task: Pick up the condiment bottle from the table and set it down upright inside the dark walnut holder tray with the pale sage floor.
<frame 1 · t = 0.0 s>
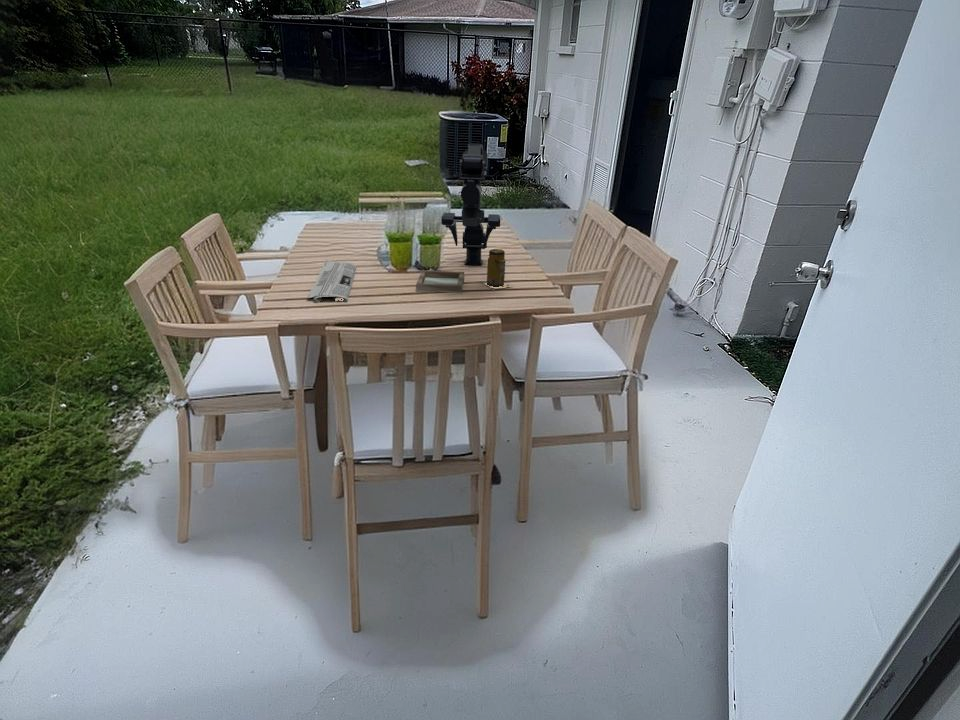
hand: (470, 246, 185), 15 cm above the table, tool pointing down, fingers open, 9 cm apart
newspaper: (333, 285, 193), on the table
condiment: (496, 285, 196), on the table
holder tray: (440, 285, 194), on the table
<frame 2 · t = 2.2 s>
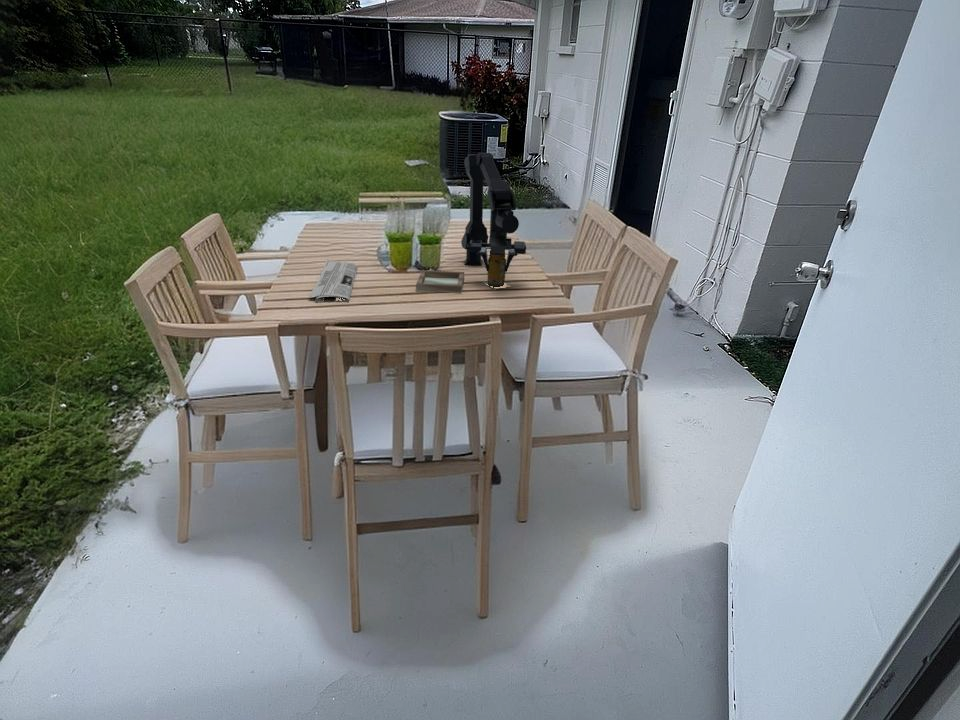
hand: (496, 271, 194), 5 cm above the table, tool pointing down, fingers closed on condiment, 6 cm apart
condiment: (496, 285, 196), on the table, touching gripper
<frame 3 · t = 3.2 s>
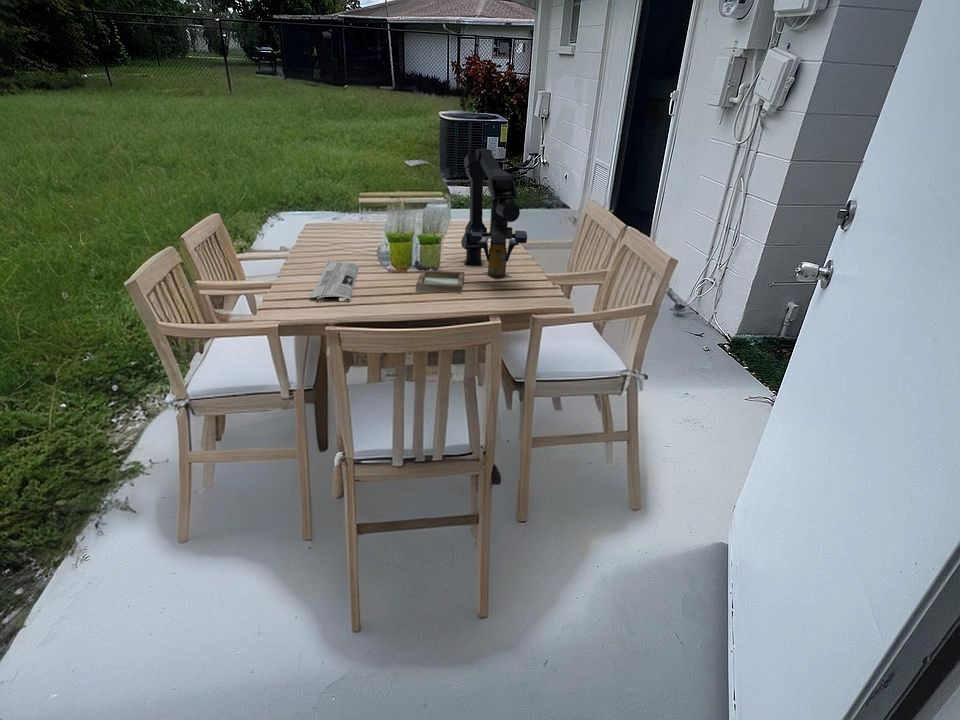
hand: (497, 261, 192), 9 cm above the table, tool pointing down, fingers closed on condiment, 6 cm apart
condiment: (497, 276, 194), point 3 cm above the table, touching gripper
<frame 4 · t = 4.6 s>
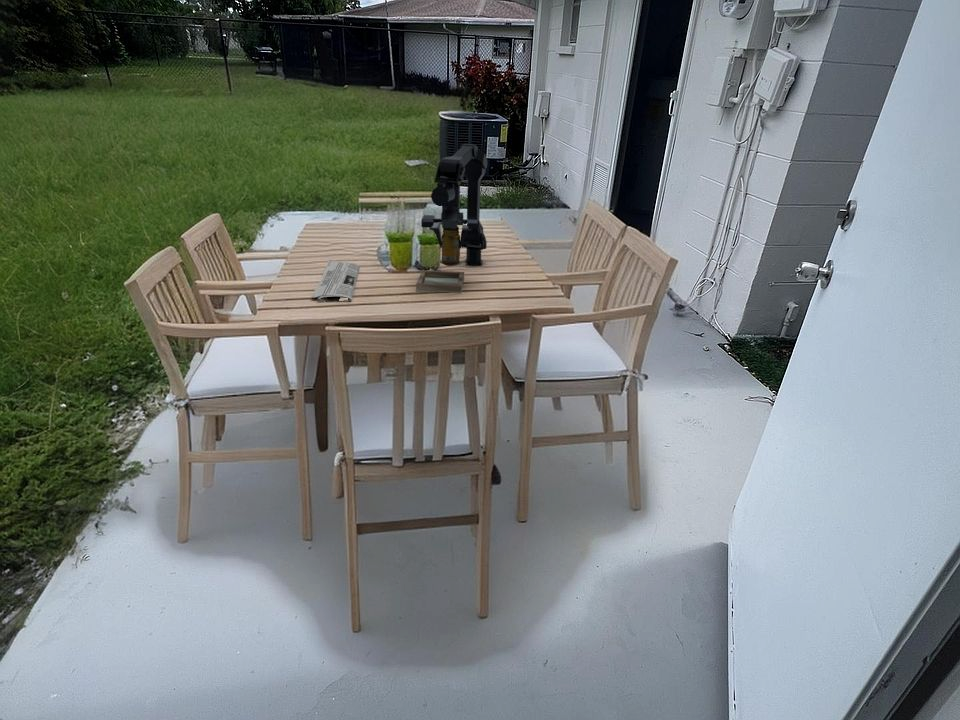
hand: (450, 247, 189), 13 cm above the table, tool pointing down, fingers closed on condiment, 6 cm apart
condiment: (451, 263, 191), point 8 cm above the table, touching gripper
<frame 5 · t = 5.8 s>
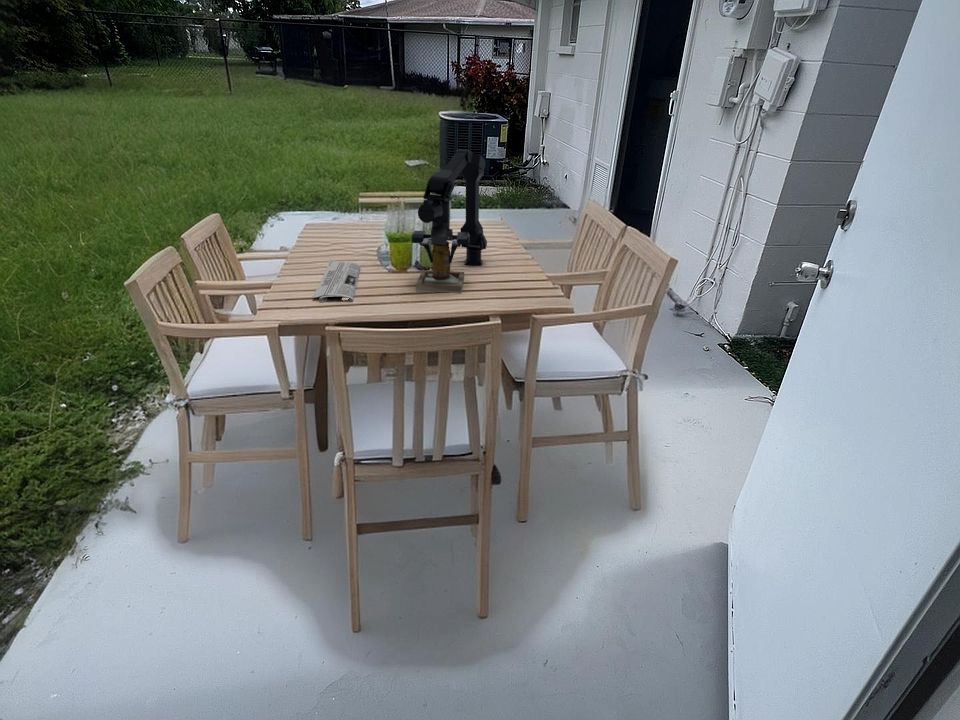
hand: (441, 262, 191), 8 cm above the table, tool pointing down, fingers closed on condiment, 6 cm apart
condiment: (442, 277, 193), point 3 cm above the table, touching gripper
when the fingers open (7 cm above the table, at t = 6.9 s): condiment drops 1 cm, resting on holder tray.
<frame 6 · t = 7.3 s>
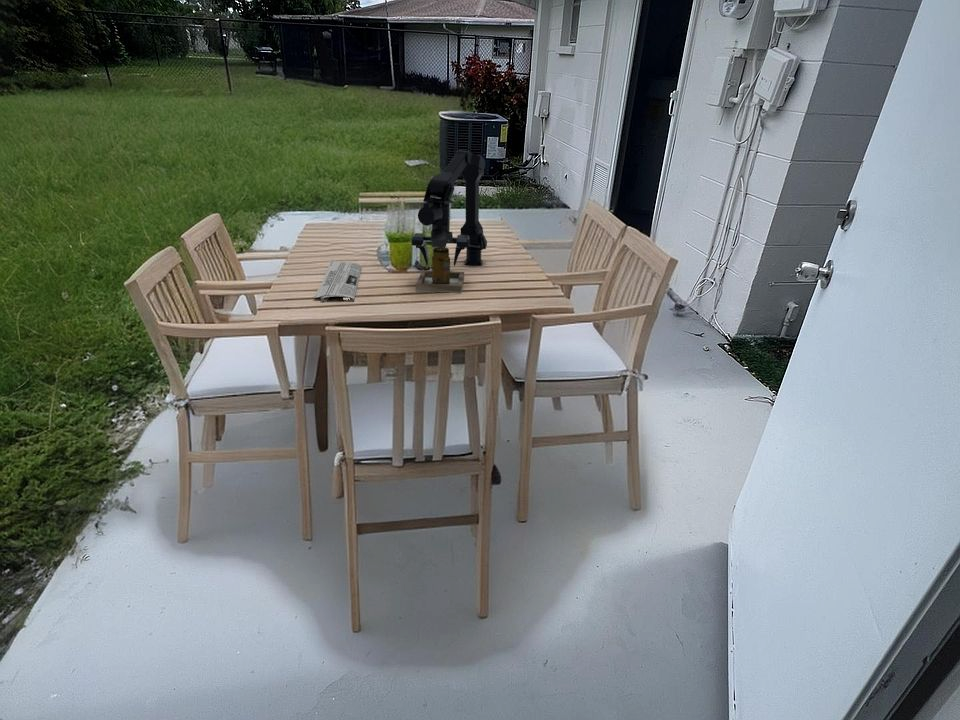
hand: (440, 265, 191), 7 cm above the table, tool pointing down, fingers open, 9 cm apart
condiment: (441, 284, 194), resting on holder tray
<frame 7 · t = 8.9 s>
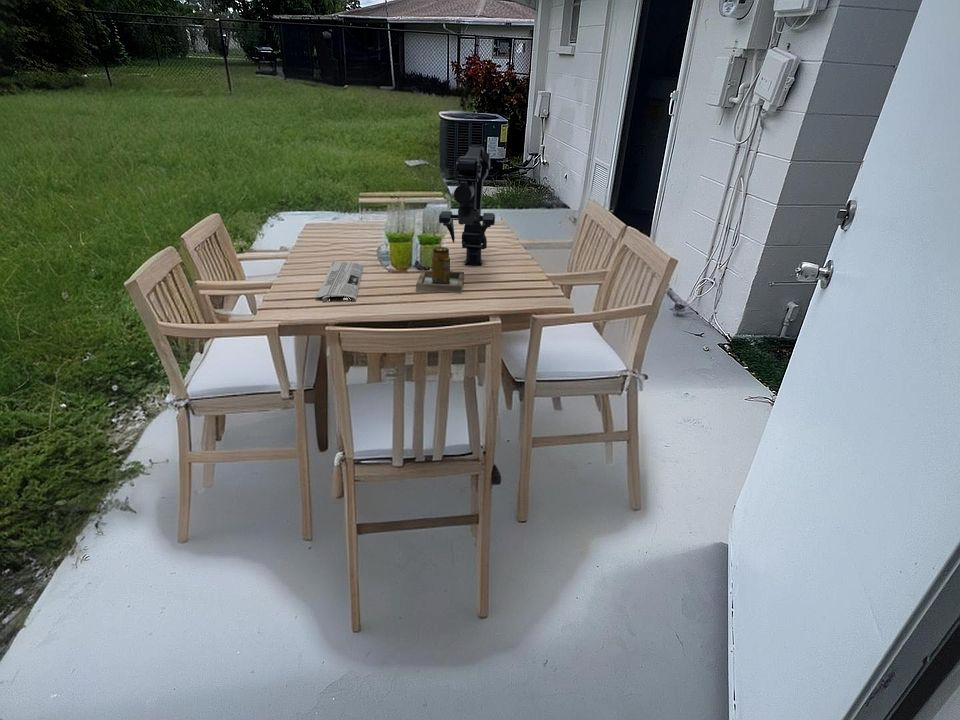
hand: (466, 242, 196), 13 cm above the table, tool pointing down, fingers open, 9 cm apart
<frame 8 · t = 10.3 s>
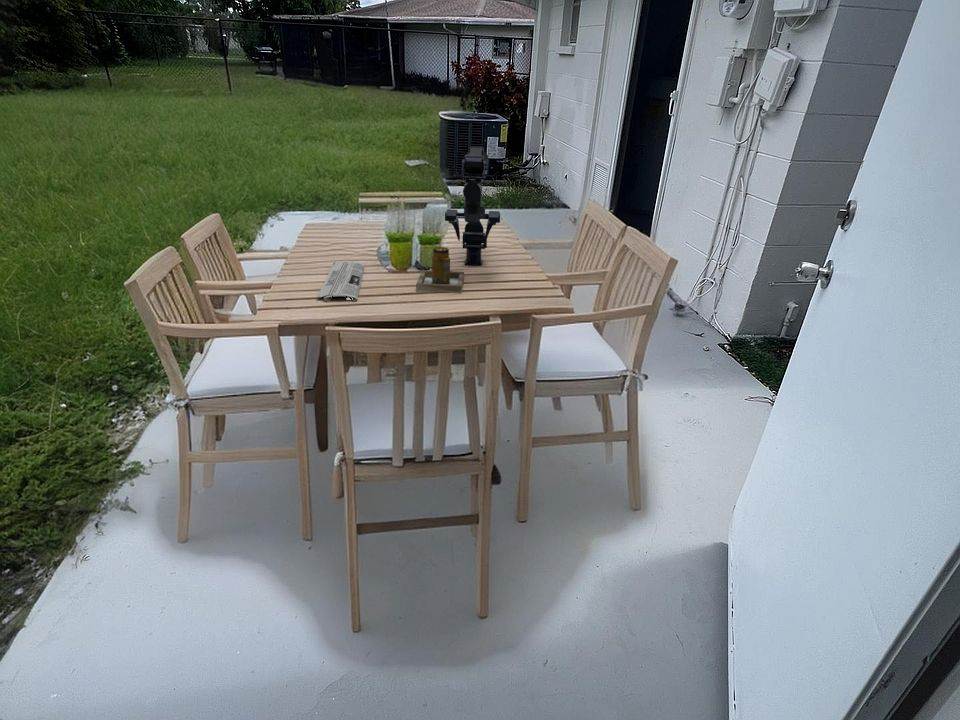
hand: (472, 240, 197), 13 cm above the table, tool pointing down, fingers open, 9 cm apart
at the end: condiment inside the target area on the holder tray (0.3 cm from its centre), point 0.3 cm above the holder tray's base; condiment tilted 0°; the gripper is holding nothing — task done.
